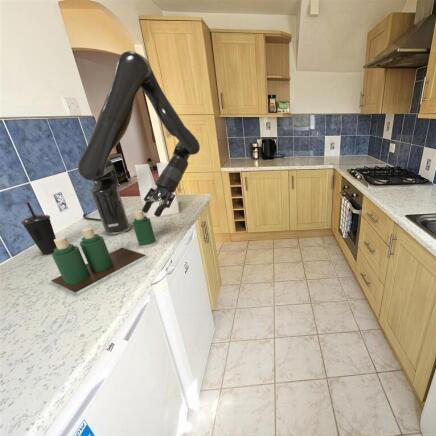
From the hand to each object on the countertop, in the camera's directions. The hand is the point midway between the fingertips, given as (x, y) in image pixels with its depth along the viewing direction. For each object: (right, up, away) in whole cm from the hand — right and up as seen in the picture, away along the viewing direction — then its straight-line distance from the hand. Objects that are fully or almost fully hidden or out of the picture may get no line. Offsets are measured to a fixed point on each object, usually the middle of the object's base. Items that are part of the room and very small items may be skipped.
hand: (150, 214), depth 96 cm
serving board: (-8, -19, -14) cm, 25 cm away
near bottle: (-11, -21, -20) cm, 31 cm away
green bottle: (-2, -12, +2) cm, 12 cm away
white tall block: (-14, +3, +38) cm, 40 cm away
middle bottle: (-8, -18, -15) cm, 24 cm away
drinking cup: (-37, -15, -2) cm, 40 cm away
